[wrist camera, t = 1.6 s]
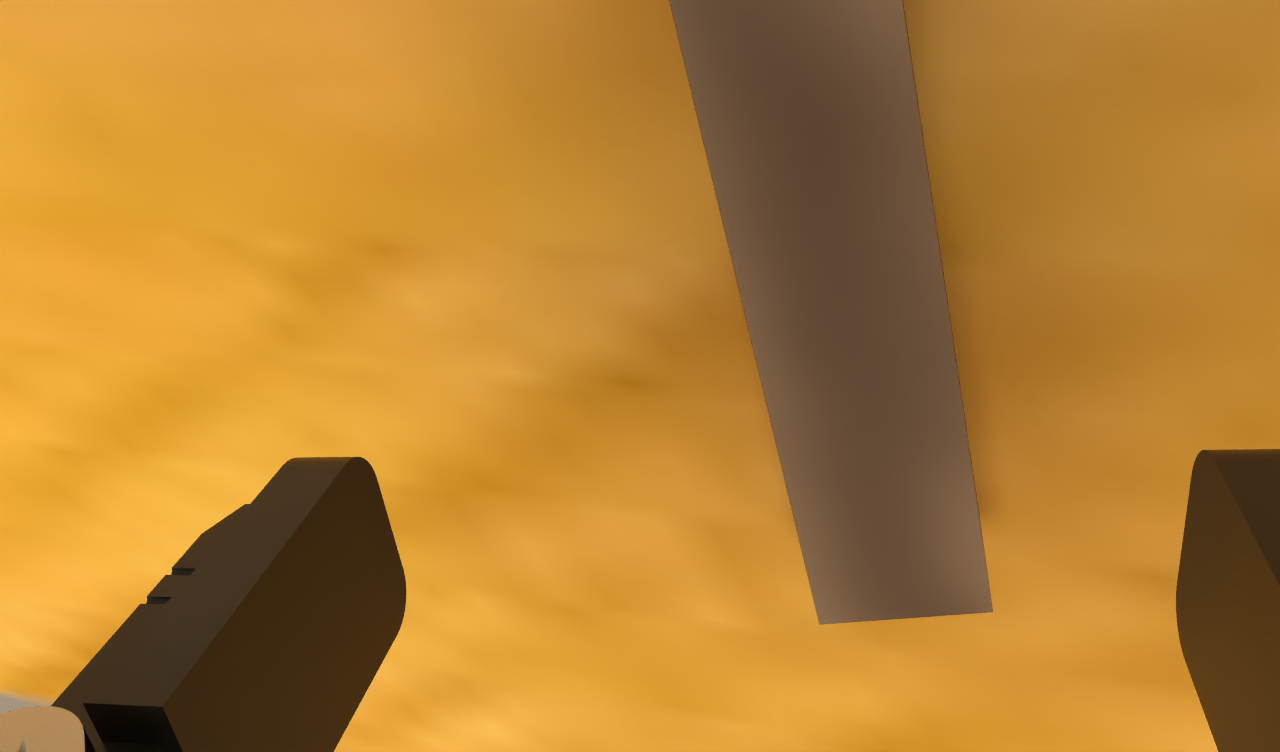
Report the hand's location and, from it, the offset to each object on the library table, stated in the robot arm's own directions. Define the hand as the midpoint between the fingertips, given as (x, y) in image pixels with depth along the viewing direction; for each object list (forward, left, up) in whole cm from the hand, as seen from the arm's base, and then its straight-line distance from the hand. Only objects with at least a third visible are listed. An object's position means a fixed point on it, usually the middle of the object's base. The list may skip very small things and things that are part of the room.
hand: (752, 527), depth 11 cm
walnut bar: (0, 0, -15) cm, 15 cm away
